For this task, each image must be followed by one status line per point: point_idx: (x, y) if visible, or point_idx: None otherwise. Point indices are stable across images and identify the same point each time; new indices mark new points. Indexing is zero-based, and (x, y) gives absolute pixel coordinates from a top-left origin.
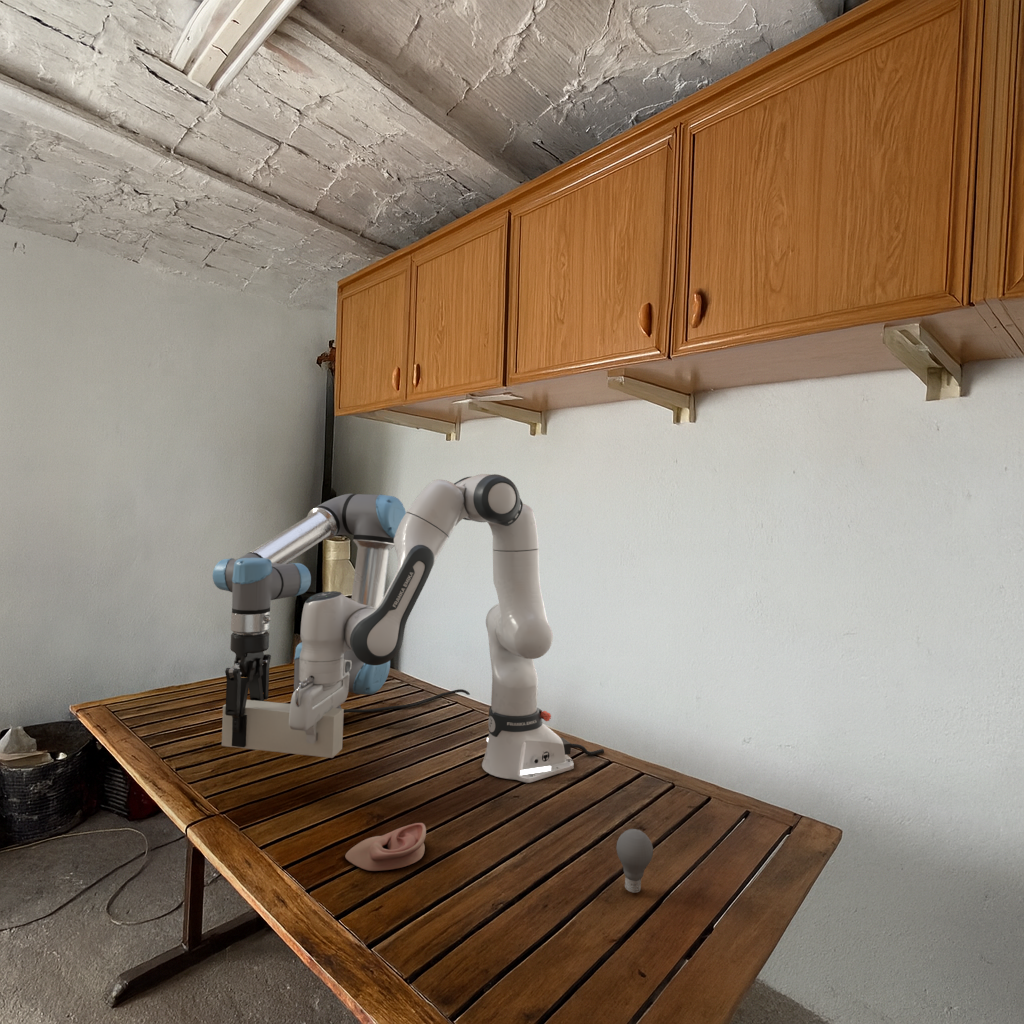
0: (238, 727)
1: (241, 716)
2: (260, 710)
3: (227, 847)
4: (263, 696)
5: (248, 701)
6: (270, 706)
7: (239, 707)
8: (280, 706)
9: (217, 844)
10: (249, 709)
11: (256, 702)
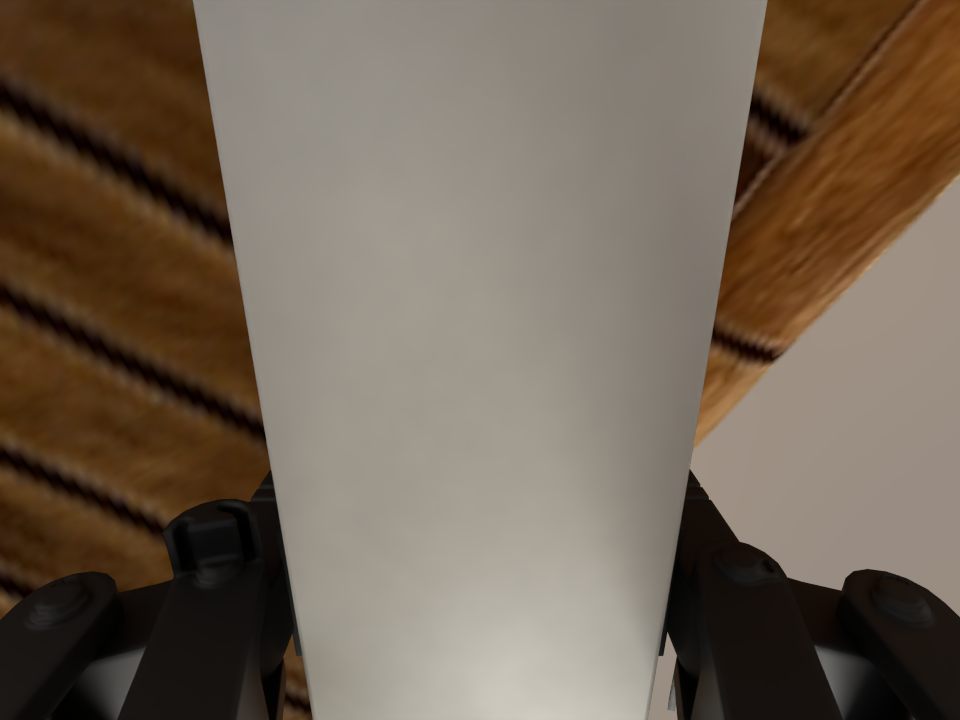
0: (696, 487)
1: (751, 546)
2: (693, 381)
3: (951, 105)
4: (98, 647)
5: (389, 709)
6: (512, 298)
7: (931, 675)
8: (449, 84)
9: (923, 163)
10: (671, 553)
11: (388, 606)
